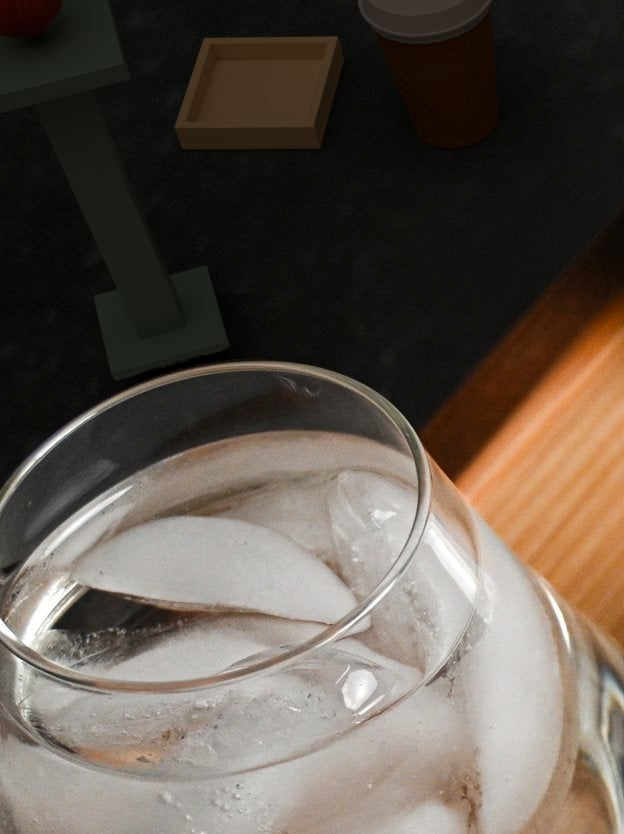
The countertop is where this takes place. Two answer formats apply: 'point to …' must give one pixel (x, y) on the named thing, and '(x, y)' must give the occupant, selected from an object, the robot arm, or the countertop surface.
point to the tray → (260, 93)
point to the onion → (27, 17)
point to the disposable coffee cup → (440, 65)
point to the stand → (109, 191)
